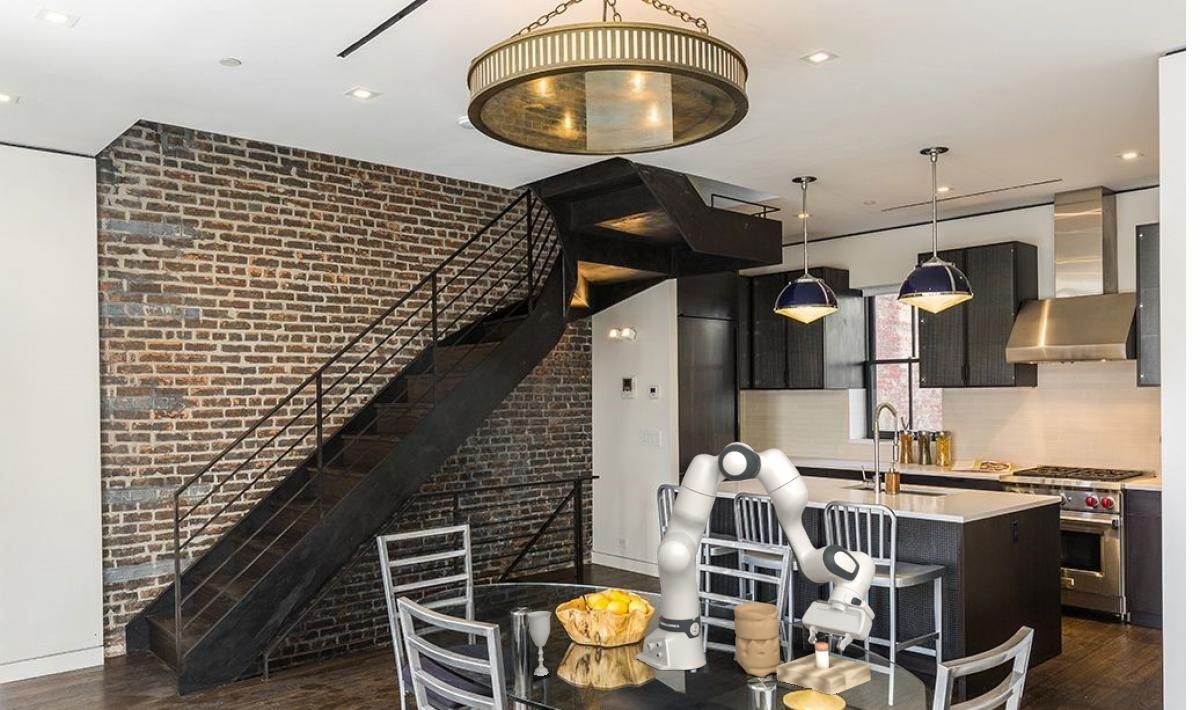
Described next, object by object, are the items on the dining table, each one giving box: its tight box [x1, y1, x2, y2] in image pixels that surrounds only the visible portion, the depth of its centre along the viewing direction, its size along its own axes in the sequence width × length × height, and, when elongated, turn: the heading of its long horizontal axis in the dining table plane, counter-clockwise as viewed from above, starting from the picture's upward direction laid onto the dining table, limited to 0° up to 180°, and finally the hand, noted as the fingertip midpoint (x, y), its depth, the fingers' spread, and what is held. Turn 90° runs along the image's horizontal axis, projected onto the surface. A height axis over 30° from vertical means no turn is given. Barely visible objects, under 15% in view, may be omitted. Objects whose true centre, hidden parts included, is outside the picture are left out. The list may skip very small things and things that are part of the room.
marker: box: [815, 642, 830, 670], centre depth 248 cm, size 4×4×10 cm
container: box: [733, 602, 781, 678], centre depth 260 cm, size 13×13×18 cm
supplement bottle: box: [802, 609, 827, 653], centre depth 278 cm, size 7×7×12 cm
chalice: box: [527, 610, 552, 676], centre depth 261 cm, size 7×7×18 cm
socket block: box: [776, 652, 872, 695], centre depth 248 cm, size 18×18×4 cm
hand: (825, 645), depth 249 cm, fingers open, 8 cm apart
